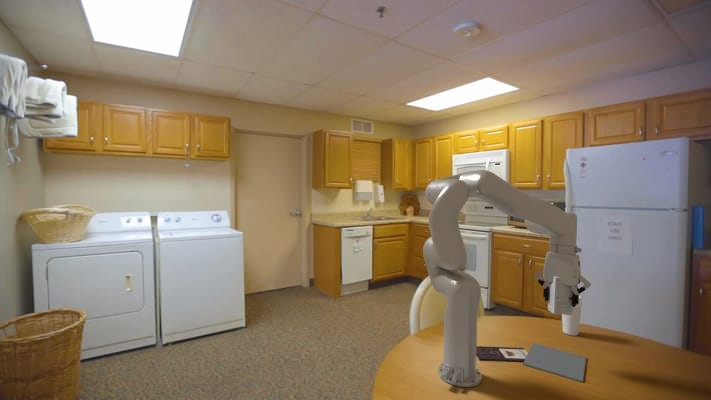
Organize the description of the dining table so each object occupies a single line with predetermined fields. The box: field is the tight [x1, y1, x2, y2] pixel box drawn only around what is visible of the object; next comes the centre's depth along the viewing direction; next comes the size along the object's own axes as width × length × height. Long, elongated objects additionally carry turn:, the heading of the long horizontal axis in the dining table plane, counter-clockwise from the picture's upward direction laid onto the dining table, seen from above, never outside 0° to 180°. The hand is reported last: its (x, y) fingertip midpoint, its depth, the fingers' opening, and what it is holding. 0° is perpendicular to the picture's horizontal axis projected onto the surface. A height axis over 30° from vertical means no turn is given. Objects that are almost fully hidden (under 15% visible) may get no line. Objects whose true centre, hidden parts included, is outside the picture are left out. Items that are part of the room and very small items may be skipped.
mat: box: [522, 342, 587, 383], centre depth 108 cm, size 18×16×1 cm
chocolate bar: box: [476, 345, 528, 363], centre depth 113 cm, size 9×1×18 cm
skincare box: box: [547, 277, 574, 315], centre depth 108 cm, size 6×4×12 cm
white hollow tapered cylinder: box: [561, 295, 583, 337], centre depth 130 cm, size 7×7×15 cm
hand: (560, 302), depth 108 cm, fingers closed on skincare box, 7 cm apart
